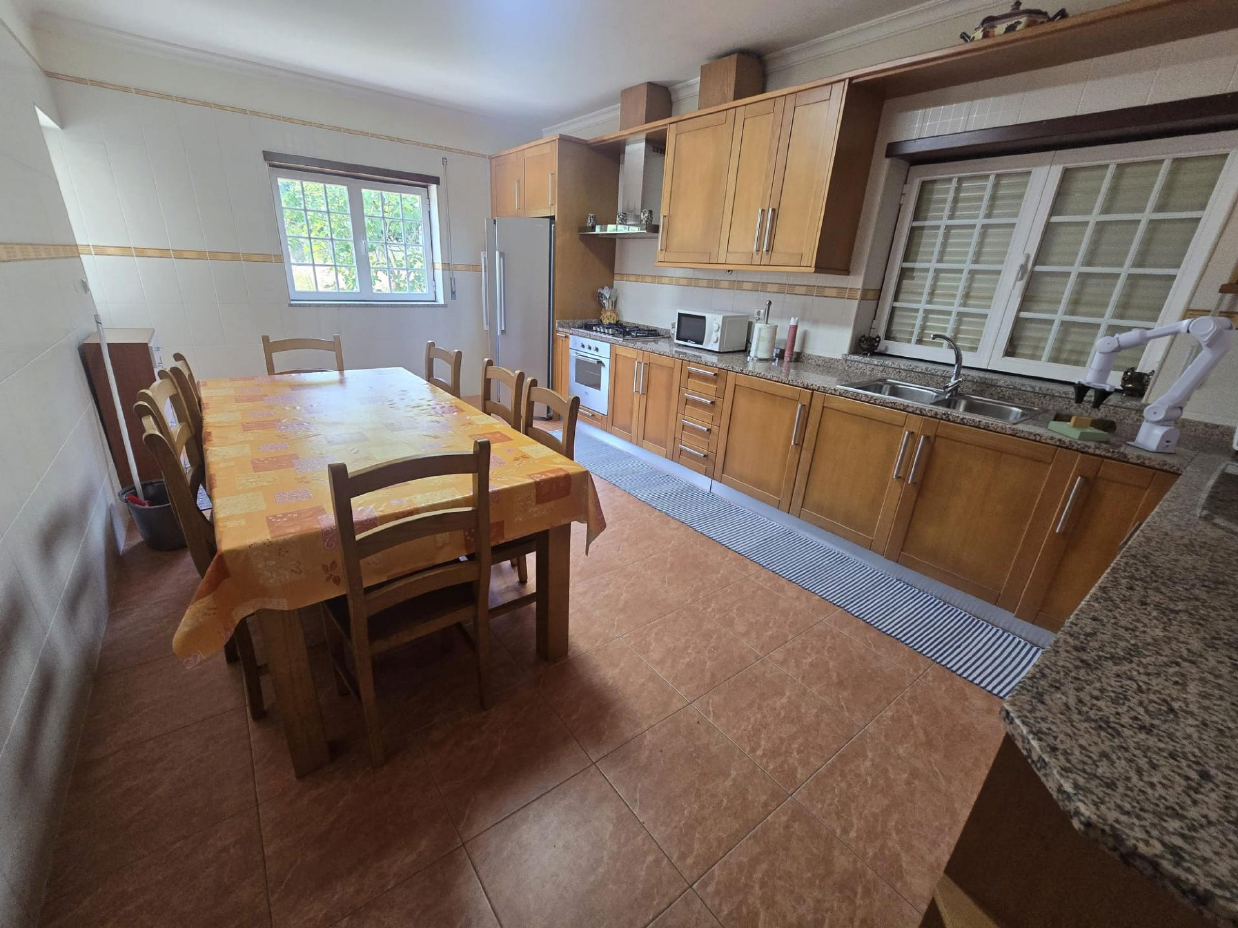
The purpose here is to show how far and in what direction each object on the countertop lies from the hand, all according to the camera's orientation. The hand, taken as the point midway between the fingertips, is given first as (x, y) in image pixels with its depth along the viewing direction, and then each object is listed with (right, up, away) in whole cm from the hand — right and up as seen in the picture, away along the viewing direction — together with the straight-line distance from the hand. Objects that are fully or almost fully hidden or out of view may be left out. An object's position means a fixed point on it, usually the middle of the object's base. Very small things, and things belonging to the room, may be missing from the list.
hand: (1086, 406), depth 190 cm
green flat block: (-8, -11, -4) cm, 14 cm away
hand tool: (+7, -7, +10) cm, 14 cm away
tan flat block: (-8, -8, -5) cm, 12 cm away
